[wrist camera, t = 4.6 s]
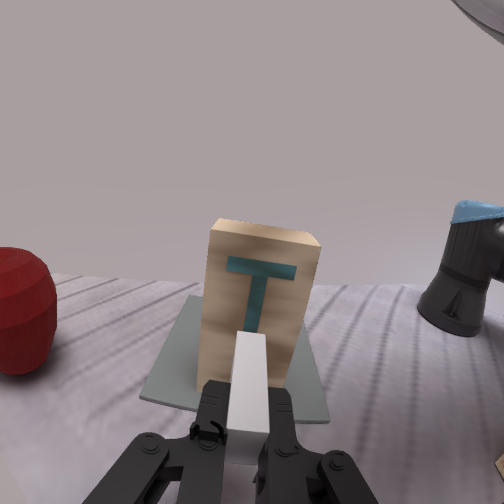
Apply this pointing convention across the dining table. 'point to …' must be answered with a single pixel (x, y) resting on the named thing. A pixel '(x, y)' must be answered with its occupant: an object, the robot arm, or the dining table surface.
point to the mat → (186, 365)
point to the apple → (25, 311)
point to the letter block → (254, 295)
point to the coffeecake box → (500, 465)
